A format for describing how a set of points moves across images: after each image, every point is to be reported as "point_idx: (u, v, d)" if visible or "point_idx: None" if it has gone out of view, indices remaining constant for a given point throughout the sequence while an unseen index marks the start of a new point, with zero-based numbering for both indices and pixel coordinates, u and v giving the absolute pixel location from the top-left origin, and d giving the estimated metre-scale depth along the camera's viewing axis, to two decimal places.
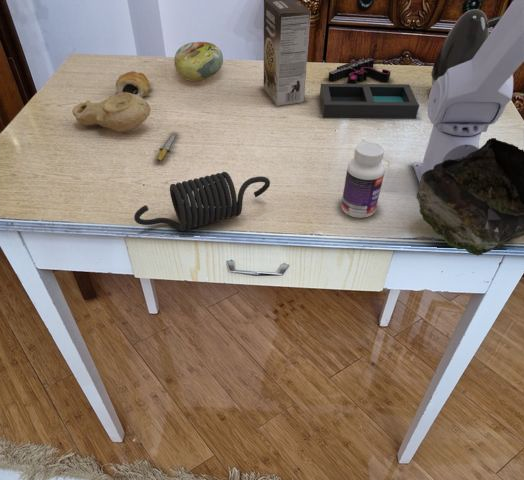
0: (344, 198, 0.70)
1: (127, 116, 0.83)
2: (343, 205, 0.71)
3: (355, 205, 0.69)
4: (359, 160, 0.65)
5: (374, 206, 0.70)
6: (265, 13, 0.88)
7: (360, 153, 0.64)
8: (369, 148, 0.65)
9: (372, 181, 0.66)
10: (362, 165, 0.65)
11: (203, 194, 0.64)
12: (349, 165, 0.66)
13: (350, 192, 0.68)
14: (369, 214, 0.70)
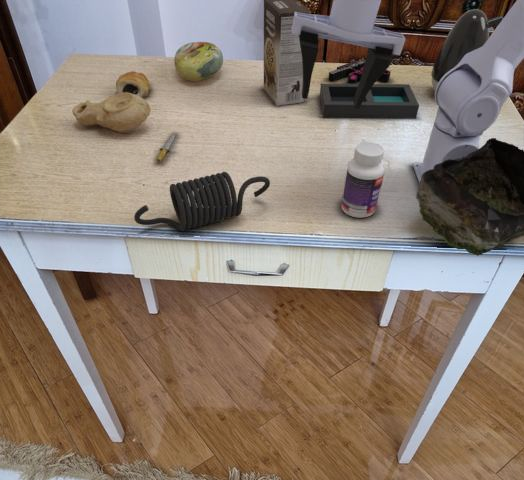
0: (344, 198, 0.70)
1: (127, 116, 0.83)
2: (343, 205, 0.71)
3: (355, 205, 0.69)
4: (359, 160, 0.65)
5: (374, 206, 0.70)
6: (265, 13, 0.88)
7: (360, 153, 0.64)
8: (369, 148, 0.65)
9: (372, 181, 0.66)
10: (362, 165, 0.65)
11: (203, 194, 0.64)
12: (349, 165, 0.66)
13: (350, 192, 0.68)
14: (369, 214, 0.70)
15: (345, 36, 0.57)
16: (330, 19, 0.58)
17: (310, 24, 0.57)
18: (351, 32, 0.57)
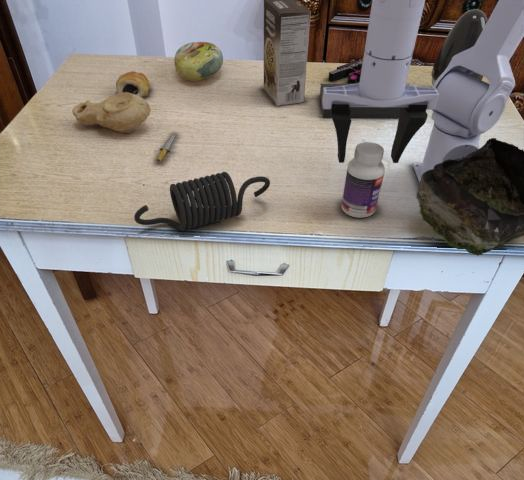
0: (344, 198, 0.70)
1: (127, 116, 0.83)
2: (343, 205, 0.71)
3: (355, 205, 0.69)
4: (359, 160, 0.65)
5: (374, 206, 0.70)
6: (265, 13, 0.88)
7: (360, 153, 0.64)
8: (369, 148, 0.65)
9: (372, 181, 0.66)
10: (362, 165, 0.65)
11: (203, 194, 0.64)
12: (349, 165, 0.66)
13: (350, 192, 0.68)
14: (369, 214, 0.70)
15: (377, 105, 0.57)
16: (360, 89, 0.58)
17: (341, 99, 0.58)
18: (383, 100, 0.57)
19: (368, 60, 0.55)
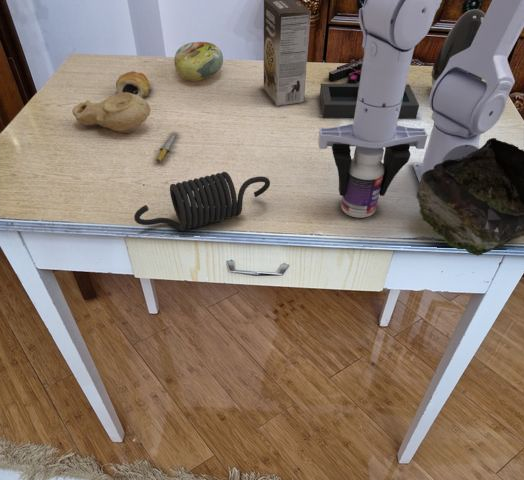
0: (344, 198, 0.70)
1: (127, 116, 0.83)
2: (343, 205, 0.71)
3: (355, 205, 0.69)
4: (359, 160, 0.65)
5: (374, 206, 0.70)
6: (265, 13, 0.88)
7: (360, 153, 0.64)
8: (368, 148, 0.65)
9: (372, 181, 0.66)
10: (362, 165, 0.65)
11: (203, 194, 0.64)
12: None
13: (350, 192, 0.68)
14: (369, 214, 0.70)
15: (369, 146, 0.61)
16: (354, 131, 0.62)
17: (336, 140, 0.62)
18: (375, 142, 0.61)
19: (361, 106, 0.59)
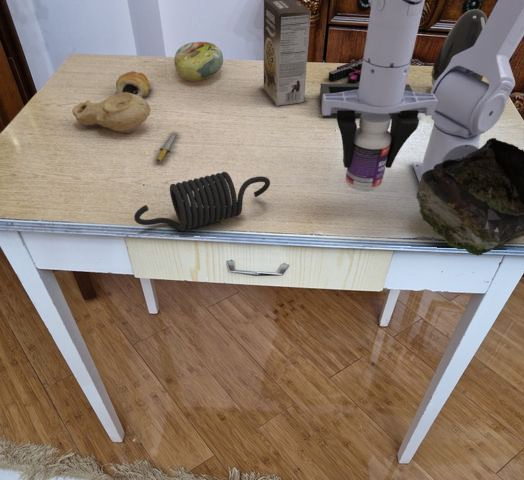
0: (348, 171, 0.66)
1: (127, 116, 0.83)
2: (347, 178, 0.67)
3: (360, 177, 0.65)
4: (364, 129, 0.61)
5: (380, 179, 0.66)
6: (265, 13, 0.88)
7: (365, 120, 0.60)
8: (374, 115, 0.61)
9: (379, 151, 0.62)
10: (367, 133, 0.61)
11: (203, 194, 0.64)
12: None
13: (355, 163, 0.64)
14: (375, 187, 0.67)
15: (376, 111, 0.58)
16: (359, 96, 0.58)
17: (340, 105, 0.59)
18: (382, 107, 0.57)
19: (367, 67, 0.55)
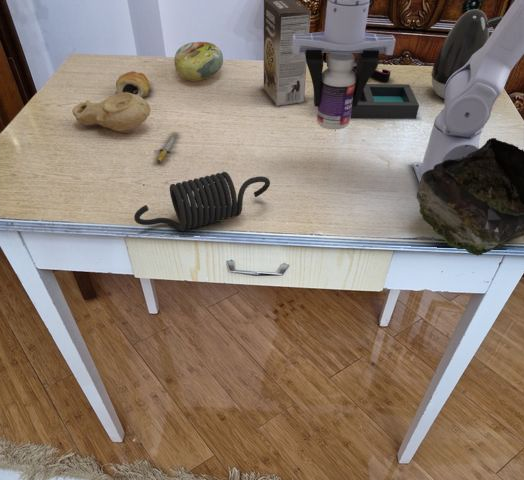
0: (318, 110, 0.73)
1: (127, 116, 0.83)
2: (318, 118, 0.74)
3: (329, 115, 0.72)
4: (331, 67, 0.68)
5: (347, 117, 0.73)
6: (265, 13, 0.88)
7: (331, 59, 0.67)
8: (340, 55, 0.68)
9: (344, 88, 0.69)
10: (334, 72, 0.68)
11: (203, 194, 0.64)
12: (322, 74, 0.69)
13: (324, 101, 0.71)
14: (343, 126, 0.73)
15: (339, 48, 0.64)
16: (325, 35, 0.65)
17: (308, 44, 0.65)
18: (344, 44, 0.64)
19: (330, 7, 0.62)
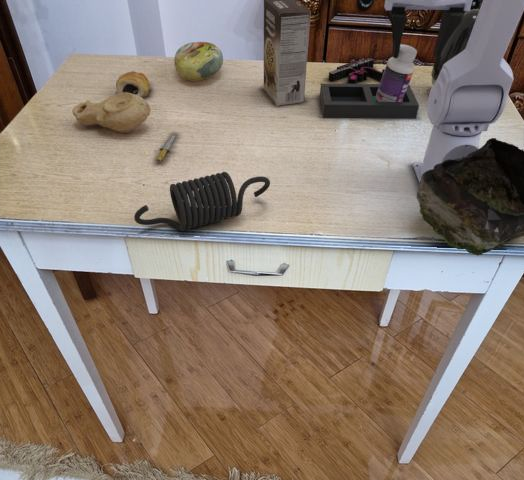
0: (380, 89, 0.91)
1: (127, 116, 0.83)
2: (378, 95, 0.92)
3: (388, 95, 0.90)
4: (398, 56, 0.86)
5: (401, 99, 0.92)
6: (265, 13, 0.88)
7: (400, 50, 0.85)
8: (406, 48, 0.86)
9: (405, 75, 0.87)
10: (399, 61, 0.86)
11: (203, 194, 0.64)
12: (389, 61, 0.88)
13: (386, 83, 0.89)
14: None
15: (427, 4, 0.77)
16: None
17: (400, 1, 0.78)
18: (432, 0, 0.77)
19: None
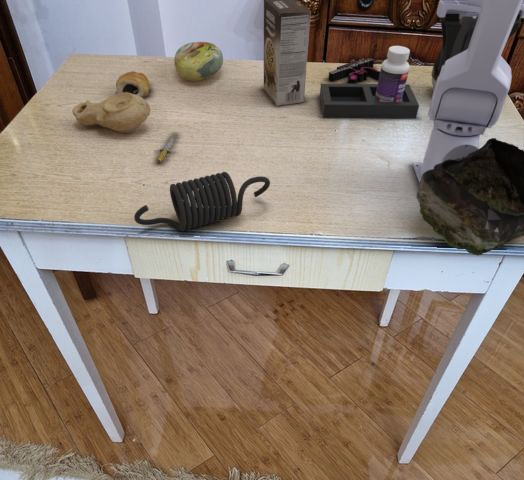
0: (377, 92, 0.92)
1: (127, 116, 0.83)
2: (375, 98, 0.93)
3: (384, 96, 0.91)
4: (390, 58, 0.87)
5: (399, 99, 0.92)
6: (265, 13, 0.88)
7: (391, 51, 0.86)
8: (398, 49, 0.86)
9: (399, 75, 0.88)
10: (392, 62, 0.87)
11: (203, 194, 0.64)
12: (383, 63, 0.88)
13: (382, 85, 0.90)
14: None
15: None
16: (470, 0, 0.74)
17: (454, 7, 0.74)
18: None
19: None
